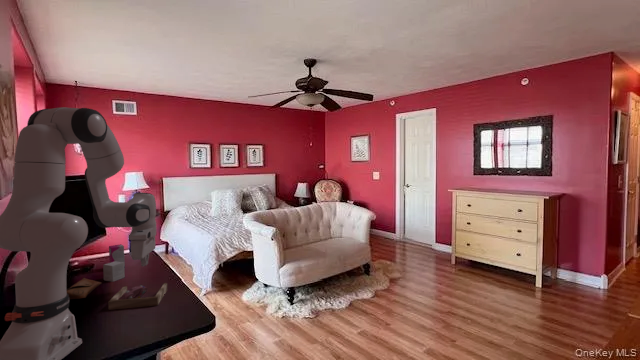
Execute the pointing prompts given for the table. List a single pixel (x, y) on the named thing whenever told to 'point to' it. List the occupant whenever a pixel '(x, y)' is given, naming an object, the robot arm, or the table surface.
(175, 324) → the table surface
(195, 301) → the table surface
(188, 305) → the table surface
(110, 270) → the product box
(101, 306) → the table surface
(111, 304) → the birch dock
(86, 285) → the sunglasses case
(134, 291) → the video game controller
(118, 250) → the supplement box
